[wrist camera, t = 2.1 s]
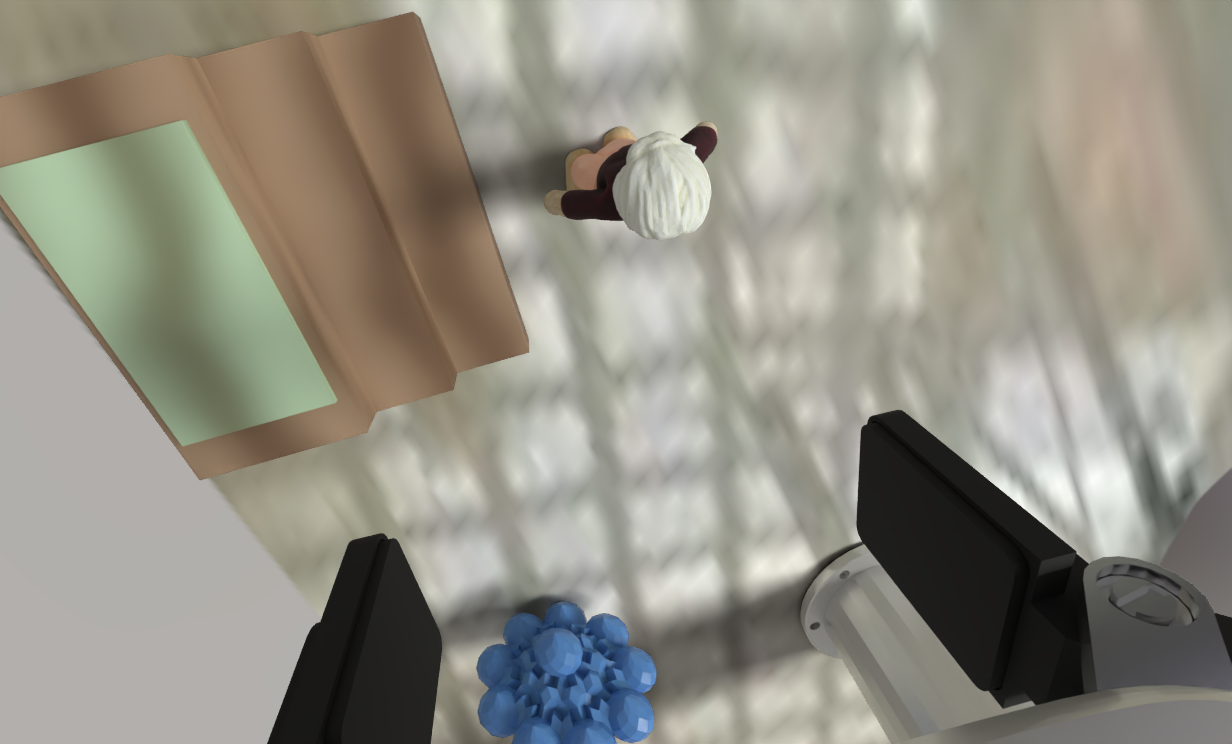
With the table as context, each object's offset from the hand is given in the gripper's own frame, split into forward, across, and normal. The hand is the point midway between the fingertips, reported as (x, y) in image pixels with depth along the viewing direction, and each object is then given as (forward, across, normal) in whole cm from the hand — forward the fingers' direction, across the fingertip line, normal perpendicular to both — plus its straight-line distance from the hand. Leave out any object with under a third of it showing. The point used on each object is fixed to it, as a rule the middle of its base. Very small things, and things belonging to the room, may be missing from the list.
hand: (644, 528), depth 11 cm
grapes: (+22, +5, +25) cm, 33 cm away
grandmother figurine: (+22, -4, -4) cm, 23 cm away
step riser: (+22, +11, -3) cm, 25 cm away
